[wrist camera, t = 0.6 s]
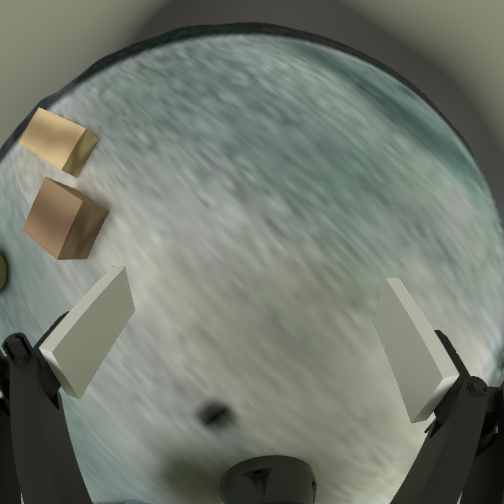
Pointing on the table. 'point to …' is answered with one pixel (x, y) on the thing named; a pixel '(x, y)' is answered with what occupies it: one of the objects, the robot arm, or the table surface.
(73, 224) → the walnut cube
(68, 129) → the oak plank
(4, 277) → the squeeze bottle
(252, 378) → the table surface
